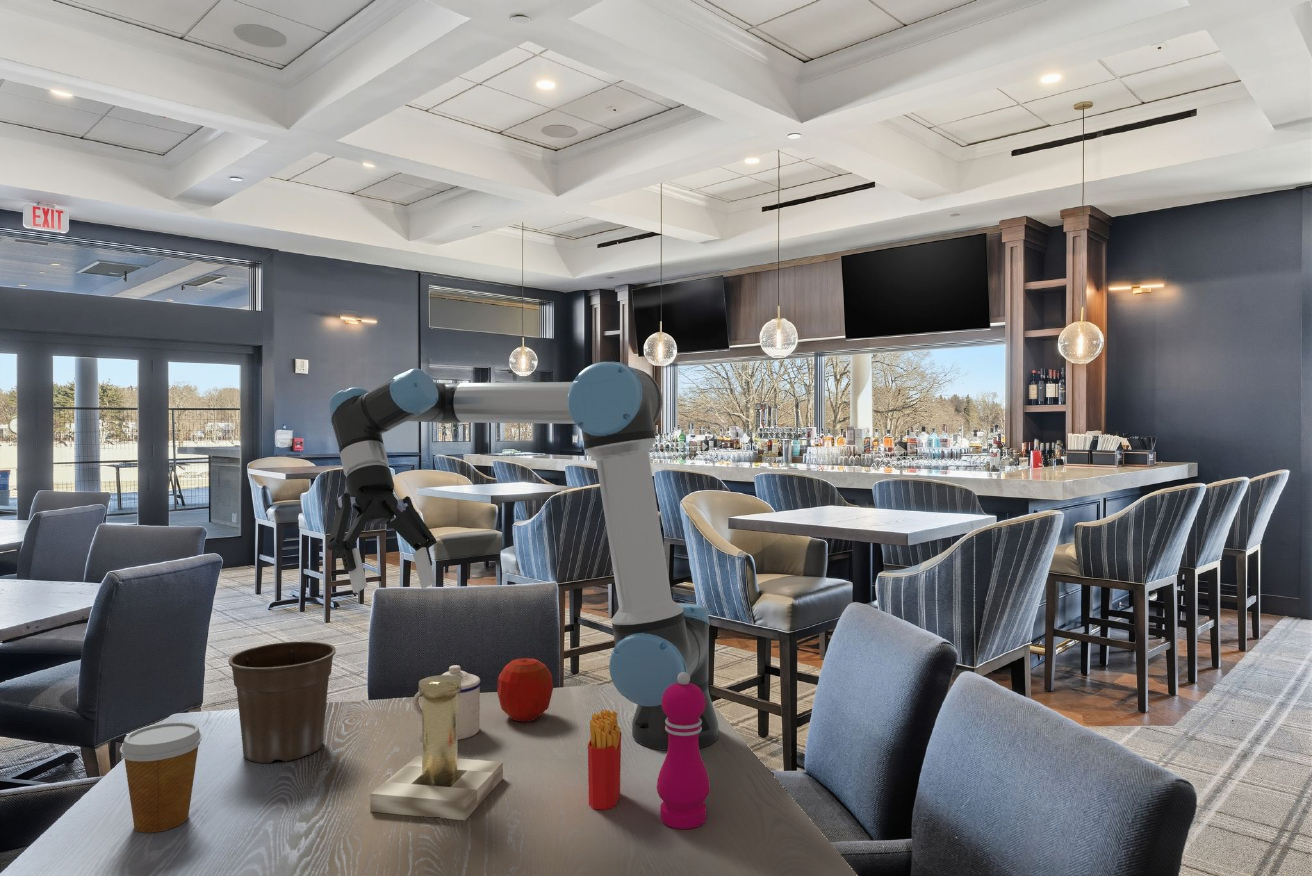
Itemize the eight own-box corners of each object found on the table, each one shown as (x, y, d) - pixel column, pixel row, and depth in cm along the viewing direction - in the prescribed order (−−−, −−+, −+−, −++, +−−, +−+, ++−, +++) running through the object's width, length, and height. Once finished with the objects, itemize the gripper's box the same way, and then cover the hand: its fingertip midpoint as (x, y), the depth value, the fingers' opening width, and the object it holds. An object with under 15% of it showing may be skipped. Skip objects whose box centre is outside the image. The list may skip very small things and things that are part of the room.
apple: (561, 711, 155) (561, 651, 155) (537, 729, 145) (537, 664, 145) (513, 706, 158) (513, 646, 158) (487, 723, 149) (487, 659, 149)
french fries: (611, 813, 113) (611, 726, 113) (584, 811, 113) (584, 724, 113) (624, 787, 121) (624, 706, 121) (598, 785, 122) (598, 705, 122)
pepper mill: (693, 836, 106) (693, 683, 106) (646, 822, 110) (647, 674, 110) (718, 815, 112) (719, 670, 112) (674, 802, 116) (674, 662, 116)
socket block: (502, 778, 124) (502, 762, 124) (465, 820, 110) (465, 801, 110) (417, 771, 127) (417, 755, 127) (370, 811, 113) (370, 793, 113)
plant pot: (283, 776, 125) (283, 671, 125) (204, 761, 130) (204, 660, 130) (356, 739, 140) (356, 646, 140) (283, 728, 146) (283, 638, 146)
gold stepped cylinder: (467, 787, 121) (467, 676, 121) (450, 805, 115) (450, 688, 115) (429, 784, 122) (430, 674, 122) (410, 801, 116) (411, 685, 116)
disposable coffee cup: (150, 805, 115) (150, 720, 115) (216, 806, 114) (216, 721, 114) (101, 838, 105) (102, 745, 105) (174, 840, 105) (174, 746, 105)
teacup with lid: (487, 724, 148) (487, 660, 148) (471, 742, 139) (472, 674, 139) (423, 722, 149) (423, 658, 149) (403, 740, 140) (403, 672, 140)
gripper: (412, 486, 153) (440, 592, 146) (288, 477, 133) (314, 600, 125) (437, 468, 150) (467, 575, 143) (314, 456, 129) (342, 581, 122)
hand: (395, 587), depth 134 cm, fingers open, 13 cm apart
